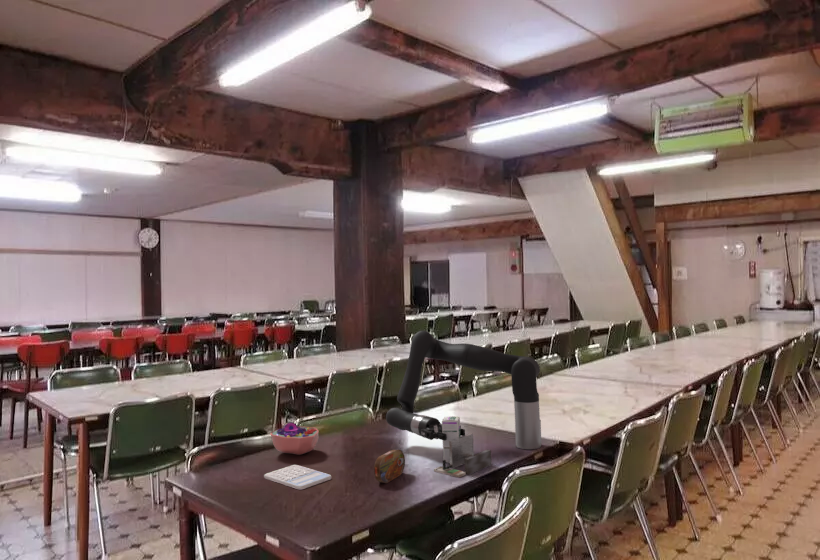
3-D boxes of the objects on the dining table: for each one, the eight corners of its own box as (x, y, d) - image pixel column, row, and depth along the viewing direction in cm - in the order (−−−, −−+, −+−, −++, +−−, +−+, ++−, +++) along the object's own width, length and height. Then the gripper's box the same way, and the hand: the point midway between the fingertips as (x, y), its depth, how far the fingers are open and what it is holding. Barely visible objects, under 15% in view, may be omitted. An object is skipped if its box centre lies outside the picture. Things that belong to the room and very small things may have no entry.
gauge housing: (466, 458, 203) (466, 444, 203) (493, 464, 195) (492, 449, 195) (433, 471, 190) (433, 456, 190) (461, 478, 182) (460, 462, 182)
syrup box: (460, 462, 194) (458, 420, 194) (442, 462, 196) (441, 420, 196) (461, 457, 200) (460, 416, 200) (445, 457, 201) (443, 416, 201)
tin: (381, 486, 177) (380, 459, 177) (372, 485, 179) (371, 458, 179) (406, 472, 190) (405, 447, 190) (398, 471, 192) (397, 445, 192)
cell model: (289, 464, 204) (288, 432, 204) (263, 453, 219) (262, 423, 219) (329, 453, 215) (328, 423, 215) (302, 443, 230) (301, 415, 230)
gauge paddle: (471, 459, 200) (470, 433, 200) (473, 459, 199) (472, 433, 199) (442, 471, 188) (441, 443, 188) (444, 471, 187) (443, 444, 187)
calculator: (295, 468, 200) (295, 463, 200) (333, 479, 186) (332, 474, 187) (262, 479, 190) (262, 473, 190) (300, 491, 177) (299, 485, 177)
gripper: (409, 419, 205) (439, 427, 192) (440, 413, 214) (470, 420, 201) (410, 440, 205) (439, 450, 192) (440, 433, 214) (470, 441, 201)
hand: (455, 435), depth 196 cm, fingers closed on syrup box, 8 cm apart
